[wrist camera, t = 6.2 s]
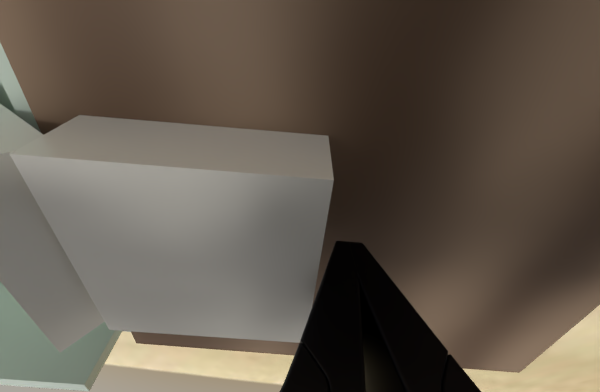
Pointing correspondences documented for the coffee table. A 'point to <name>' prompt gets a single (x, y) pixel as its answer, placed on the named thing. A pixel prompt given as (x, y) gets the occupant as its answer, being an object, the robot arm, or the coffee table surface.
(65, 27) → the brown flat block
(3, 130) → the tile
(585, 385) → the coffee table surface
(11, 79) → the box
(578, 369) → the coffee table surface
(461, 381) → the robot arm
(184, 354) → the coffee table surface
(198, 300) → the tile
